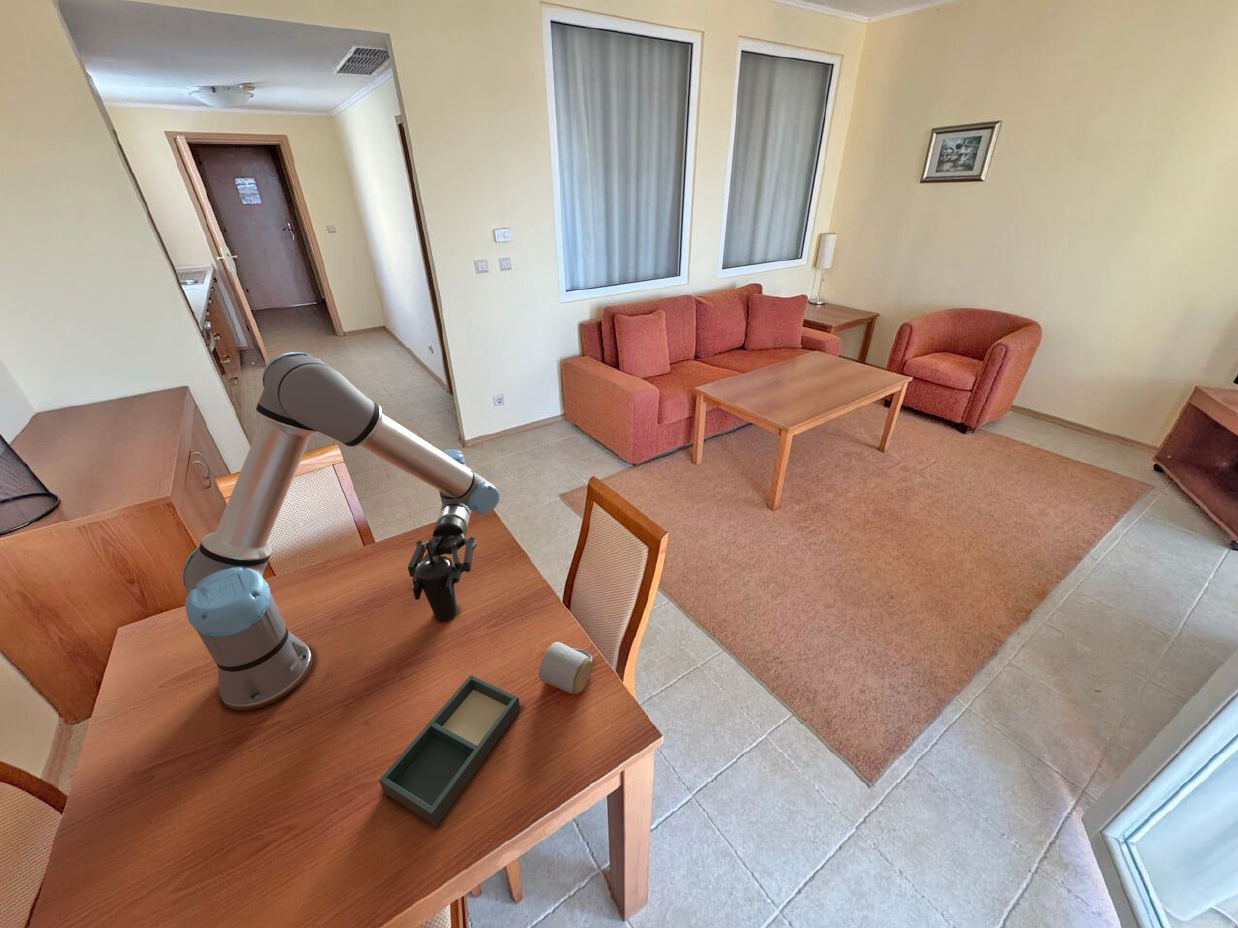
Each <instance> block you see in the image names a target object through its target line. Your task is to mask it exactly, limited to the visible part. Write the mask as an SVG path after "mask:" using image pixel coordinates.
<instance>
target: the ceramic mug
mask: <svg viewBox="0 0 1238 928" xmlns="http://www.w3.org/2000/svg"><path fill="white" fill-rule="evenodd" d="M592 668H593V656H592V654H591V653H590V652H588V651H587V650H584V649H582V648H581V649H580V648H576V647H575V648H572V647H571V646H568V645H566V644H564V643H562V642H560V641H555V642H553V643H552V644H551V645H550V646H549V647H548V648H547V650H546V651H545V653H544V655H543V657H542V658H541V661H540V666H539V669H538V670H539V671H538V678H539V680H540V681H541V682H544V683H546V684H548V685H550V686H552V687H555V688H557V689H559V690H562V691H563V692H566V693H568V694H572V695H577V694H579V693H581V692H582V691H583V690H584V689H585V687H586V685H587V684H588V682H589V679H590V676H591V673H592Z"/></svg>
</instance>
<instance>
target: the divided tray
mask: <svg viewBox="0 0 1238 928" xmlns="http://www.w3.org/2000/svg"><path fill="white" fill-rule="evenodd" d="M520 711H521V706H520V699H519V696H517V695H514V694H512V693H510V692H508V691H507V690H504V689H501V688H499V687H497V686H495V685H493V684H492V683H489V682H487V681H485V680H483V679H481V678H479V677H476V676H474V675H472V674H470V675H469V676H468V677H467V678H466V679H465V681H464V682H463V683H461V685H460V686H459V687H458V688H457V690H456V691H455V692H454V693H453V695H452V696H450V697H449V699H448V700H447V701H446V702H445V703H444V704H443V706H441V708H440V709H439V710H438V711H437V713H436V714H435V715H434V716H433V717H432V718H431V719H430V721H428V723H427V724H426V725H425V726H424V728H423V729H422V730H421V731H420V732H419V733H418V734H417V736H415V738H414V739H413V740H412V741H411V742H410V744H409V745H408V746H407V747H406V748H405V749H404V751H403V752H402V753H401V754H400V755H399V756H398V757H397V758H396V760H395V761H394V762H393V763H392V764H391V765H390V766H389V768H388V769H387V770H386V771H385V772H384V773H383V774H382V776H380V778H379V779H378V782H379V784H380V787H381V789H382V791H383V793H384V794H385V795H387V796H388V797H390V798H391V799H392V800H394V801H396V802H398V803H399V804H400V805H402V806H404V807H405V808H407V809H408V810H409V811H411V812H413V813H414V814H416V815H417V816H419V817H420V818H422V819H423V820H425V821H426V822H428V823H429V824H431V825H433V826H434V827H438V825H439V824H440V822H441V821H442V820H443V818H444V817H445V815H446V814H447V813H448V811H449V810H450V808H451V807H452V805H453V804H454V803H455V801H456V800H457V799H458V797H459V796H460V794H461V793H462V792H463V790H464V789H465V788H466V786H467V785H468V783H469V782H470V781H471V779H472V778H473V777H474V775H475V774H476V772H477V771H478V769H479V768H480V767H481V766H482V765H483V762H484V761H485V759H486V758H487V757H488V755H489V754H490V753H491V752H492V750H493V748H494V747H495V746H496V744H497V743H498V742H499V740H500V739H501V737H502V736H503V735H504V733H505V732H506V731H507V729H508V728H509V726H510V725H511V724H512V722H513V721H514V719H515V718H516V716H517V715H518V713H520Z"/></svg>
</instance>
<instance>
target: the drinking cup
mask: <svg viewBox="0 0 1238 928" xmlns="http://www.w3.org/2000/svg"><path fill="white" fill-rule="evenodd" d="M426 548H427V550H426V553H428V555H429V558H427V559H425V560H423V561H422V562H421V563H419V564H418V565H417V567H416V569H415V575H416V577H417V578H418V579H419V580H420V582H421V585H422V587H423V590H422V591H423V593H424V595H425V597H426V599H427V601H428V604H429V606H430V608H431V610H432V612H433V615H434V617H435V619H436V620H437V621H439V622H447V621H450V620H452V619H453V618H455V616H457V613H458V607H457V606H458V605H457V599H456V589H455V586H454V587H453V591H452V596H451V597H447V592H446V588H445V586H446V582H447V579H448V575H449V574H450V573H451V570H452V566H453V562H452V561H453V560H451V558H449V557H448V556H445V555H441V556H434V557H432V553H431V550H430V546H429V543H426Z"/></svg>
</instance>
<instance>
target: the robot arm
mask: <svg viewBox="0 0 1238 928" xmlns="http://www.w3.org/2000/svg"><path fill="white" fill-rule="evenodd" d="M261 380H262V387H263V390H262V392H261V396H260V398H259V400H258V402H257V405H256V407H255V413H256V414H257V416H258V418H259V419H260V423H259V425H258V428H257V430H256V433H255V435H254V438H253V440H252V443H251V445H250V447H249V449H248V452H247V455H246V457H245V459H244V462H243V465H242V467H241V469H240V472H239V474H238V476H237V479H236V481H235V484H234V486H233V489H232V491H231V493H230V496H229V498H228V501H227V503H226V506H225V508H224V511H223V513H222V515H221V517H220V520H219V522H218V525H217V528H216V530H215V531H213V532H211V533H208V534H206V535H204V536H203V537H202V539H201V541H200V544H199V546H197V547H196V548H195V549H193V551H192V552H191V553H190V554H189V555H188V557H187V558H186V561H185V563H184V565H183V570H182V582H183V586H184V588H185V591H186V594H187V595H186V599H185V603H184V609H185V612H186V617H187V620H188V622H189V624H190V626H192V627H193V628H194V630H196V632H197V634H198V636H199V638H200V639H201V641H202V643H203V644H204V646H205V647H206V649H207V651H208V653H209V654H210V656H211V658H212V660H213V661H214V663H215V664H216V666H217V671H218V678H217V679H218V680H217V681H218V694H219V697H220V698H221V701H222V702H223V703H224V705H225V706H226V707H228V708H229V709H232V710H234V711H240V712H245V711H254V710H258V709H262V708H264V707H265V708H266V707H268V706H270V705H272V704H274V703H276V702H278V701H281V700H282V699H283V698H285V697H286V696H288V695H290V694H291V692H293V691H295V689H297V688H298V687H299V686H300V685H301V684H302V683H303V681H305V680H306V678H307V677H308V674H309V673H310V670H311V668H312V666H313V655H312V652H311V650H310V649H309V646H308V645H307V644H306V643H305V642H303V641H302V640H301V639H300V638H298V637H297V636H296V635H294V634H293V633H292V632H290V631H289V630H288V628H287V626H286V625H287V624H286V623H285V621H284V618H283V617H282V614H281V612H280V610H279V608H278V606H277V604H276V602H275V600H274V598H273V595H272V593H271V588H270V586H269V584H268V582H267V580H266V579H265V578H264V572H265V569H266V567H267V564H268V562H269V560H270V557H271V556H272V552H273V548H272V546H271V545H270V544H269V543H268V541H269V538H270V535H271V534H272V530H273V528H274V525H275V523H276V521H277V518H278V516H279V513H280V511H281V509H282V506H283V504H284V502H285V499H286V497H287V494H288V492H289V489H290V487H291V484H292V482H293V480H294V477H295V476H296V473H297V471H298V468H299V466H300V463H301V461H302V459H303V456H304V453H305V452H306V449H307V446H308V444H309V442H310V439H311V438H312V437H313V436H315V435H319V434H323V435H324V436H327V437H329V438H332V439H333V440H335V441H337V442H339V443H341V444H343V445H345V446H346V447H349V448H356V447H360V448H362V449H364V450H365V451H368V452H369V453H371V454H373V455H375V456H376V457H378V458H380V459H382V460H384V461H386V462H388V464H390V465H392V466H394V467H397V468H398V469H400V470H402V471H404V472H406V473H407V474H409V475H411V476H412V477H414V478H417V479H418V480H420V481H422V482H424V483H425V484H427V485H429V486H431V487H433V488H434V489H436V490H438V493H439V497H440V501H441V509H440V512H439V514H438V517H437V520H436V523H435V525H434V530H433V531H432V535H431V536H432V537H430V538H429V539H428V541H426V542H422V540H417V541H416V543H415V544H416V547H415V550H414V551H413V554H412V556H411V558H410V561H409V563H408V565H407V571H408V575H409V577H410V578H412V579H411V581H412V585H413V589H412V592H413V596H414V599H415V601H417V600H420V599H421V595H422V593H423V591H424V590H423V587H422V585H421V582H420V580H419V579H418V578H417V577H416V575H415V569H416V567H417V565H418V564H419V563H421V562H422V561H423V560H425V559H427V558H429V555H428V552H427V548H426V543H429V546H430V550H431V553H432V557H434V556H445V555H451V557H452V561H453V565H452V570H451V573H450V574H449V575H448V579H447V582H446V586H445V588H446V592H447V597H451V596H452V591H453V587H454V588H455V584H458V583H459V582H460V580H461V576H462V574H463V573H464V572H465V573H469V572H471V571H472V563H473V556H474V555H473V554H474V550H475V549H476V547H477V541H476V537H475V536H470V537H469V538H466V537H467V536H466V535H467V531H468V527H469V523H470V519H471V514H472V512H474V513H475V514H477V515H486V514H490V513H491V512H493V511H494V509H495V508H496V507H497V505H498V504H499V502H500V491H499V489H498V488H497V486H495V485H494V484H493V483H492V482H491V481H488V480H487V479H485V478H484V477H483V476H481V475H479V474H478V473H476V472H475V471H474V470H473V469H472V468H470V467H468V466H467V465H466V459H465V458H464V457H465V456H464V454H463V452H462V451H460V450H458V449H445V450H440V449H438V448H437V447H436V446H433V445H432V444H430V443H429V442H427V441H426V440H424V439H423V438H421V437H419V436H417V434H415V433H413V432H411V430H408V429H407V428H405V427H404V426H402V425H401V424H399V423H398V422H396V421H395V420H393V419H391V418H389V417H388V416H386V415H385V414H383V411H382V407H381V406H380V405H379V404H377V403H376V402H375V401H373V400H372V399H370V398H369V397H367V396H366V395H365V393H363V392H362V391H360V390H359V389H358V388H357V387H356V386H355V385H353V384H352V383H351V382H350V381H349V380H348V379H347V378H346V377H345V376H344V375H343V374H342V373H340V372H339V371H337V370H336V369H335V368H333V367H331V366H330V365H329V364H328V363H327V362H326V361H325V360H323V359H322V358H319V357H317V356H316V355H313V354H309V353H307V352H302V351H290V352H284V353H281V354H278V355H277V356H275V357H274V358H272V359H271V360H270V361H269V362H267V364H266V366H265V367H264V369H263V371H262V378H261ZM464 546H465V550H464V555H463V562H461V561H460V557H459V553H458V550H460V549H461V548H462V547H464Z"/></svg>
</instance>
